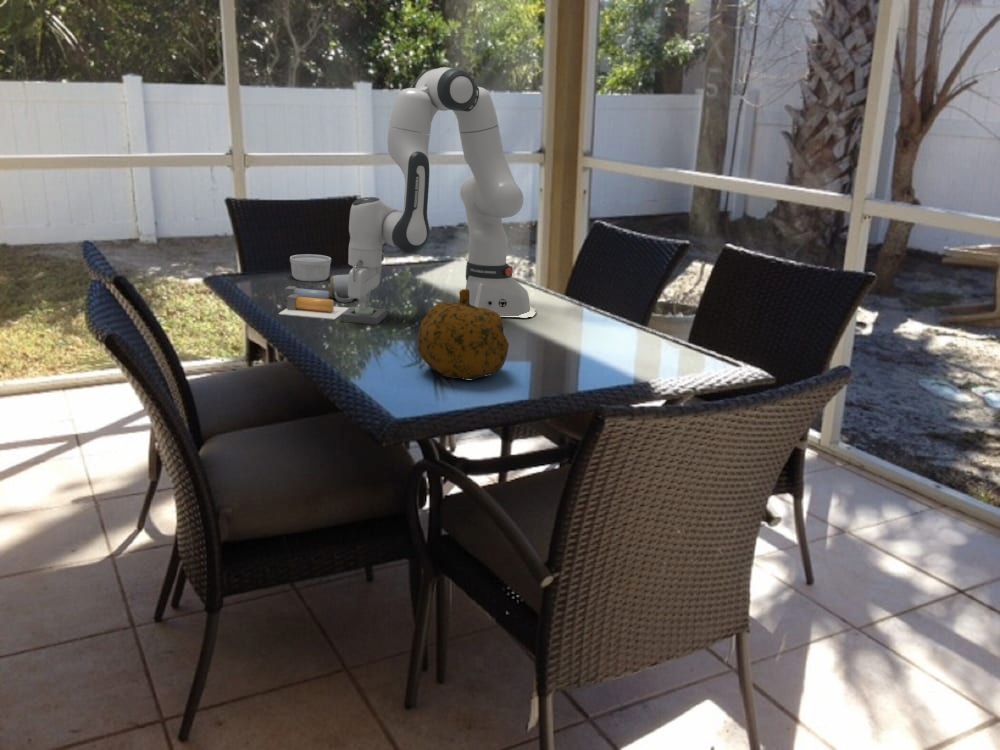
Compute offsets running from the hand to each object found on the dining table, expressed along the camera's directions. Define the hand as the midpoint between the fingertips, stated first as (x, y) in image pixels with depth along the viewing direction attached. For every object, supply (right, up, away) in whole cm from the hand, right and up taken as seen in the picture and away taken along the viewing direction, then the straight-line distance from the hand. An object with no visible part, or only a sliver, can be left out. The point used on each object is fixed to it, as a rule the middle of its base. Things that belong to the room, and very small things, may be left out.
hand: (363, 308), depth 260 cm
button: (0, -2, +1) cm, 2 cm away
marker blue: (-19, +3, +18) cm, 26 cm away
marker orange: (-16, 0, +5) cm, 17 cm away
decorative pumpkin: (+29, -18, -43) cm, 55 cm away
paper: (-15, -1, +5) cm, 15 cm away
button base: (0, -3, +1) cm, 3 cm away
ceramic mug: (-9, +4, +23) cm, 25 cm away
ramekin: (-24, +13, +49) cm, 56 cm away
